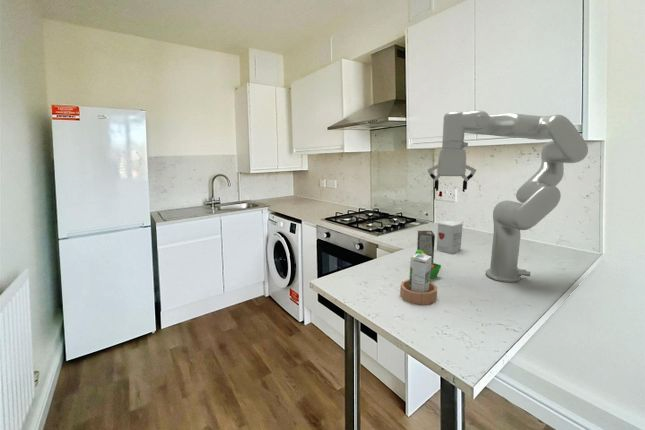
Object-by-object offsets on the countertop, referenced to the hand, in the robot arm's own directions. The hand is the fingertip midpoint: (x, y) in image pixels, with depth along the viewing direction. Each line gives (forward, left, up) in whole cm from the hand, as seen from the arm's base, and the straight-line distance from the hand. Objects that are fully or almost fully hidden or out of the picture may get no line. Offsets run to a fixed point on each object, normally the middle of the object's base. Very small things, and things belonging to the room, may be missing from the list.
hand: (450, 191), depth 124 cm
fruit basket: (+8, +2, -37) cm, 37 cm away
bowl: (+8, +21, -36) cm, 43 cm away
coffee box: (+9, -10, -37) cm, 39 cm away
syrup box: (+8, +21, -36) cm, 42 cm away
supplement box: (0, -39, -37) cm, 53 cm away
